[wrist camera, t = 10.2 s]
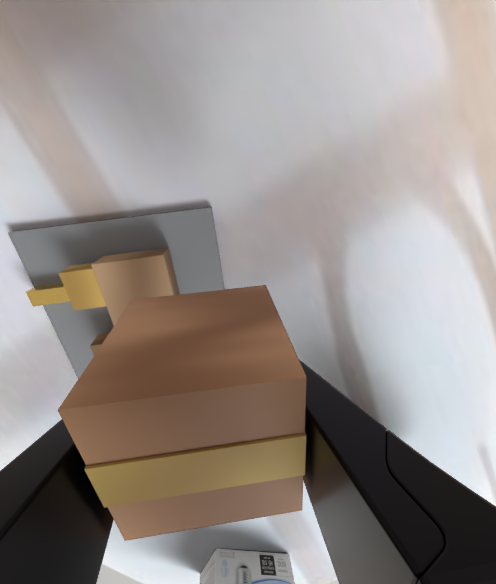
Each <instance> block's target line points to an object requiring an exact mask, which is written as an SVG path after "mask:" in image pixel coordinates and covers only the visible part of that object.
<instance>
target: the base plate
mask: <svg viewBox="0 0 496 584" xmlns="http://www.w3.org/2000/svg"><path fill="white" fill-rule="evenodd" d="M8 234H9V236H10V238H11V240H12V242H13V244H14V246H15V248H16V250H17V253H18V255H19V257H20V259H21V261H22V263H23V265H24V267H25V269H26V271H27V273H28V275H29V277H30V279H31V282H32V284H33V286H34V287H38V286H46V285H53V284H61V283H62V281H61V278H60V276H59V274H58V273H60V272H61V271H63V270H65V269H66V268H68V267H70V266H72V265H80V264H87V263H94V262H96V261H97V260H98V259H100V258H101V257H103V256H106V255H113V254H121V253H129V252H136V251H144V250H152V249H159V248H167V247H169V250H170V254H171V259H172V263H173V267H174V271H175V276H176V280H177V284H178V288H179V293H180V294H188V293H198V292H207V291H216V290H224V284H223V277H222V271H221V265H220V258H219V252H218V246H217V239H216V233H215V226H214V220H213V214H212V207H207V208H199V209H191V210H183V211H175V212H167V213H158V214H150V215H142V216H134V217H126V218H118V219H110V220H101V221H93V222H85V223H77V224H69V225H61V226H52V227H44V228H36V229H28V230H20V231H12V232H9V233H8ZM43 306H44V308H45V310H46V313H47V315H48V317H49V319H50V321H51V323H52V325H53V327H54V329H55V331H56V333H57V335H58V337H59V339H60V342H61V344H62V346H63V348H64V350H65V352H66V354H67V356H68V358H69V360H70V362H71V364H72V366H73V368H74V371H75V373H76V375H77V377H78V379H79V378H80V376H81V375H82V373H83V372H84V370H85V369H86V367H87V366H88V364H89V363H90V361H91V360H92V358H93V357H94V355H93V352H92V350H91V348H90V345H91V344H92V342H93V341H94V340H95V338H96V337H97V336H98V334H103V333H110V331H111V330H112V328H113V327H114V325H113V322H112V319H111V317H110V314H109V311H108V309H107V306H104V307H97V308H89V309H82V310H75V311H74V308H73V306H72V304H71V301H69V302H61V303H54V304H47V305H43Z"/></svg>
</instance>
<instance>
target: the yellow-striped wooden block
mask: <svg viewBox="0 0 496 584" xmlns="http://www.w3.org/2000/svg"><path fill="white" fill-rule="evenodd" d="M305 406H306V375H305V372H304V370H303V368H302V366H301V364H300V361H299V359H298V357H297V355H296V352H295V350H294V348H293V346H292V343H291V341H290V339H289V337H288V334H287V332H286V330H285V328H284V325H283V323H282V321H281V319H280V316H279V314H278V312H277V310H276V307H275V305H274V303H273V301H272V298H271V296H270V294H269V292H268V290H267V287H266V285H263V286H254V287H244V288H235V289H226V290H216V291H207V292H198V293H188V294H179V295H170V296H160V297H151V298H142V299H132V300H131V302H130V303H129V305H128V306H127V308H126V309H125V311H124V312H123V314H122V315H121V317H120V318H119V319H118V321H117V322H116V324H115V325H114V327H113V328H112V330H111V331H110V333H109V334H108V336H107V337H106V339H105V340H104V342H103V343H102V345H101V346H100V348H99V349H98V351H97V352H96V354H95V355H94V357H93V358H92V360H91V361H90V363H89V364H88V366H87V367H86V369H85V370H84V372H83V373H82V375H81V376H80V378H79V379H78V381H77V382H76V384H75V385H74V387H73V388H72V390H71V391H70V393H69V394H68V396H67V397H66V399H65V400H64V402H63V403H62V405H61V406H60V408H59V409H58V412H59V414H60V416H61V418H62V420H63V421H64V423H65V425H66V427H67V429H68V431H69V433H70V435H71V437H72V439H73V441H74V443H75V445H76V447H77V449H78V451H79V453H80V454H81V456H82V458H83V460H84V462H85V464H86V467H85V469H84V470H85V472H86V474H87V476H88V478H89V480H90V481H91V483H92V485H93V487H94V489H95V491H96V493H97V495H98V497H99V499H100V500H101V502H102V504H103V506H104V508H105V507H108V509H109V511H110V513H111V515H112V517H113V519H114V521H115V522H116V524H117V526H118V528H119V530H120V532H121V534H122V536H123V538H124V540H125V541H126V540H132V539H138V538H143V537H149V536H155V535H161V534H167V533H172V532H178V531H184V530H190V529H196V528H201V527H207V526H213V525H219V524H225V523H231V522H236V521H242V520H248V519H254V518H260V517H265V516H271V515H277V514H283V513H289V512H294V511H300V510H302V497H303V475H305V461H306V433H305Z"/></svg>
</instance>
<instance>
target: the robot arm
mask: <svg viewBox="0 0 496 584" xmlns="http://www.w3.org/2000/svg"><path fill="white" fill-rule="evenodd" d="M299 361H300V360H299ZM300 364H301V366H302V368H303V370H304V372H305V375H306V406H305V433H306V461H305V475H303V480H304V483H305V486H306V489H307V492H308V495H309V498H310V501H311V503H312V506H313V509H314V512H315V515H316V518H317V521H318V524H319V527H320V529H321V532H322V535H323V538H324V541H325V544H326V547H327V550H328V553H329V555H330V558H331V561H332V564H333V567H334V570H335V573H336V576H337V578H338V581H339V584H496V506H494V505H493V504H491V503H490V502H488V501H487V500H485V499H484V498H482V497H481V496H479V495H478V494H476V493H475V492H473V491H472V490H470V489H469V488H467V487H466V486H465V485H463V484H462V483H460V482H459V481H457V480H456V479H454V478H453V477H452V476H450V475H449V474H447V473H446V472H444V471H443V470H442V469H440V468H439V467H437V466H436V465H434V464H433V463H431V462H430V461H429V460H427V459H426V458H425V457H423V456H422V455H421V454H419V453H418V452H417V451H415V450H414V449H413V448H411V447H410V446H409V445H408V444H406V443H405V442H404V441H402V440H401V439H400V438H398V437H397V436H396V435H395V434H393V433H392V432H391V431H389V430H388V431H387V432H386V428H385V427H384V426H383V425H382V424H380V423H379V422H378V421H377V420H375V419H374V418H373V417H372V416H370V415H369V414H368V413H366V412H365V411H364V410H363V409H361V408H360V407H359V406H358V405H356V404H355V403H354V402H352V401H351V400H350V399H349V398H347V397H346V396H345V395H344V394H342V393H341V392H340V391H338V390H337V389H336V388H335V387H333V386H332V385H331V384H330V383H328V382H327V381H326V380H324V379H323V378H322V377H321V376H319V375H318V374H317V373H316V372H314V371H313V370H312V369H310V368H309V367H308V366H307V365H305V364H304V363H303V362H302V361H300ZM85 467H86V464H85V462H84V460H83V458H82V456H81V454H80V453H79V451H78V449H77V447H76V445H75V443H74V441H73V439H72V437H71V435H70V433H69V431H68V429H67V427H66V425H65V423H64V421H63V420H60V421H59V422H58V423H57V424H56V425H54V426H53V427H52V428H51V429H50V430H49V431H47V432H46V433H45V434H44V435H43V436H41V437H40V438H39V439H38V440H37V441H35V442H34V443H33V444H32V445H31V446H29V447H28V448H27V449H26V450H25V451H23V452H22V453H21V454H20V455H19V456H18V457H16V458H15V459H14V460H13V461H12V462H10V463H9V464H8V465H7V466H6V467H4V468H3V469H2V470H1V471H0V584H96V582H97V578H98V575H99V571H100V567H101V564H102V560H103V556H104V553H105V549H106V545H107V542H108V538H109V534H110V531H111V527H112V523H113V520H114V519H113V517H112V515H111V513H110V511H109V509H108V507H105V508H104V506H103V504H102V502H101V500H100V499H99V497H98V495H97V493H96V491H95V489H94V487H93V485H92V483H91V481H90V480H89V478H88V476H87V474H86V472H85V470H84V469H85Z"/></svg>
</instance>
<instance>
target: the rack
mask: <svg viewBox="0 0 496 584" xmlns="http://www.w3.org/2000/svg"><path fill="white" fill-rule="evenodd" d="M58 274H59V276H60V278H61V281H62V283H63V285H64V288H65V290H66V292H67V294H68V297H69V299H70V301H71V304H72V306H73V308H74V311H75V310H82V309H89V308H97V307H104V306H107V309H108V311H109V314H110V317H111V319H112V322H113V325H115V324H116V322H117V321H118V319H119V318H120V317H121V315H122V314H123V312H124V311H125V309H126V308H127V306H128V305H129V303H130V302H131V300H132V299H142V298H151V297H160V296H170V295H179V294H180V293H179V288H178V284H177V280H176V276H175V271H174V267H173V263H172V259H171V254H170V250H169V247H167V248H159V249H152V250H144V251H136V252H129V253H121V254H113V255H106V256H103V257H101V258H100V259H98V260H97V261H96V262H94V263H87V264H80V265H72V266H70V267H68V268H66V269H65V270H63V271H61V272H60V273H58ZM108 334H109V333H103V334H98V336H97V337H96V338H95V340H94V341H93V342H92V344H91V345H90V348H91V350H92V352H93V355H95V354H96V352H97V351H98V349H99V348H100V346H101V345H102V343H103V342H104V340H105V339H106V337H107V336H108Z"/></svg>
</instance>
